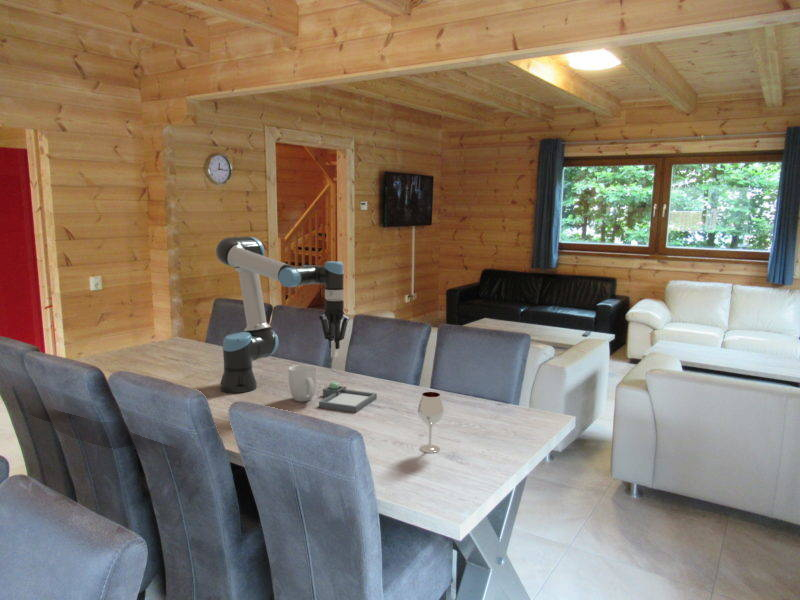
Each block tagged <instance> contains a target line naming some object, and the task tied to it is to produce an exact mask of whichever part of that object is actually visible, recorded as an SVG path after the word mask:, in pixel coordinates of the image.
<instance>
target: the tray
mask: <svg viewBox="0 0 800 600" xmlns="http://www.w3.org/2000/svg"><path fill="white" fill-rule="evenodd" d="M377 396H378V395H377V393H375V392H367V391H362V390H361V391H360V390H353V389H347V388H346V389H344V393H342V394H340V395H339V396H337V393H333V394H332V395H330V396H328V397H325V398H323V399H321V400H319V402H318V408H322V409H327V410H328V409H329V410H334V411H335V410H336V411H341V412H350V413H358V412H360V411H361V410H362V409H364V408H365V407H367V406H368V405H369V404H372V402H374V401H375V400H377V399H378V398H377Z"/></svg>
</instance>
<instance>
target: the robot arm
mask: <svg viewBox="0 0 800 600" xmlns="http://www.w3.org/2000/svg"><path fill="white" fill-rule="evenodd" d="M215 249H216V250H215V254H216V258H217V259H218V260H219V262H220V263H222V264H224V265H227V266H229V267H232V268H233V269H234V270H235V271H236V272H238V276H239V282H240V283H239V284H240V290H241V295H242V297H241V298H242V302H243V307H244V308H243V309H244V315H245V321H246V326H245V328H244V330H243V331H239V332H233V333H229V334H227V335H226V336H225V337H223V342H222V343H223V344H222V352H223V353H222V354H223V357H222V358H223V373H222V375H221V376H222V377H221V380H220V383H219V389H220V391H221V392H223V393H229V394H240V393H247V392H252V391H253V390H254V391H255V390H256V389H257V388H258V386H257V385H258V382H257V380H256V377H255V374H254V371H253V361H256V360H259V359H263V358H268V357H270V356H272V355H273V354H275V353H276V351H277V350H278V348H279V337H278V334H277V333H276V332H275V331H274V330H272V326H271V324H269V323H268V321H267V317H266V310H265V304H264V303H265V302H264V297H263V291H262V285H261V278H260V275H261V276H264V277H267V278H268V279H271V280H274V281H278V282H279V283H280V284H281V286H282V287H285V288H295V287H301V286H307V285H308V286H309V285H324V299H325V300H324V309H325V310H324V313H323V314H322V315H319V316H318V318H319V320H320V322H321V326H322V331H323V335H324V336H323V337H324V339H325V340H328V341H329V343H328V345H329V346H328V348H329V349H330V353H331V354H330V357H331V358H337V357H338V356H339V349H340V348H341V347H340V346H341V345H340V343H341V341H342V340H345V335H346V331H347V326H348V322H349V321H350V317H349V316H347V315H345V312H344V308H345V307H344V306H345V305H344V300H343V299H344V298H345V297H344V295H345V294H344V276H345V275H344V274H345V271H344V263H343V262H342V261H335V260H334V261H332V260H331V261H330V260H329V261H326V262H324V265H313V264H305V265H302V266H294V265H290V264H287V263H285V262H282V261H279V260H277V259H273V258H271V257H267V256H265V253H266V252H265V247H264V245H263V243H262V242H261V240H259V239H258V238H257V237H255V236H253V237H252V236H237V237H236V236H234V237H233V236H229V237H224V238H223V239H221V240H220V241H218V244H216V248H215ZM341 320H342V322H341Z"/></svg>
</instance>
